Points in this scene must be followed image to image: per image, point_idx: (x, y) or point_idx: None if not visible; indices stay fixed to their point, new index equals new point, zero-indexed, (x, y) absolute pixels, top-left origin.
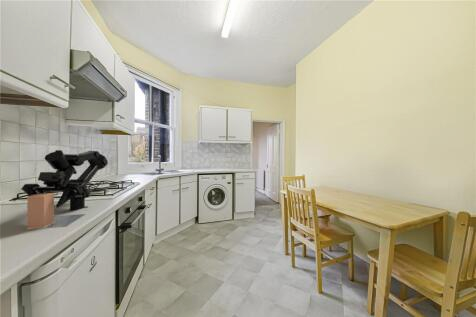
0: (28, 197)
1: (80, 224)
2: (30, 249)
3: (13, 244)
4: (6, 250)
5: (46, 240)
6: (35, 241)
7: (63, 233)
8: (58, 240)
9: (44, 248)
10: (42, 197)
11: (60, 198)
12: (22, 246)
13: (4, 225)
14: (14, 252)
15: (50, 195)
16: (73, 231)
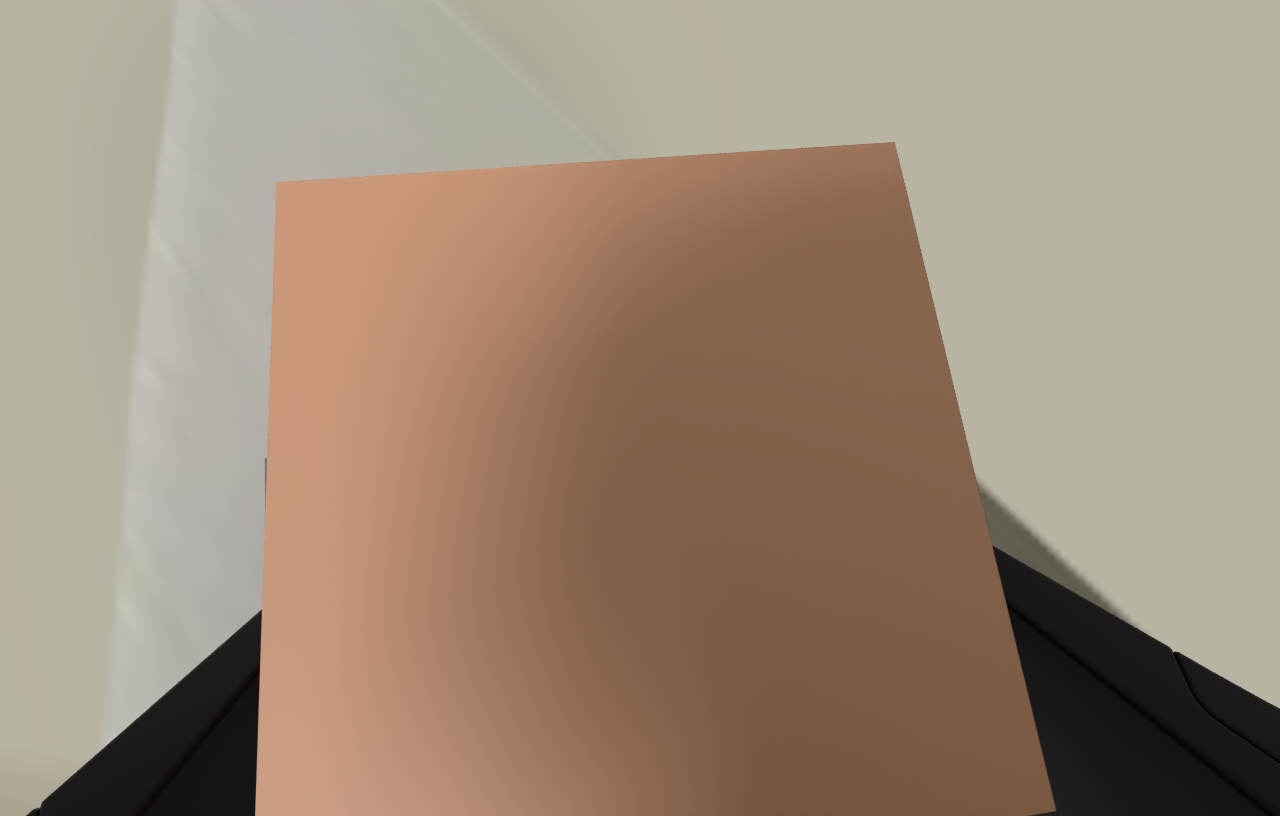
0: (842, 169)
1: (170, 604)
2: (302, 32)
3: (525, 130)
4: (482, 39)
5: (289, 175)
6: (379, 165)
7: (224, 321)
8: (171, 163)
9: (197, 35)
10: (358, 208)
11: (134, 792)
12: (414, 87)
13: (1135, 626)
14: (389, 4)
15: (305, 615)
16: (138, 367)
